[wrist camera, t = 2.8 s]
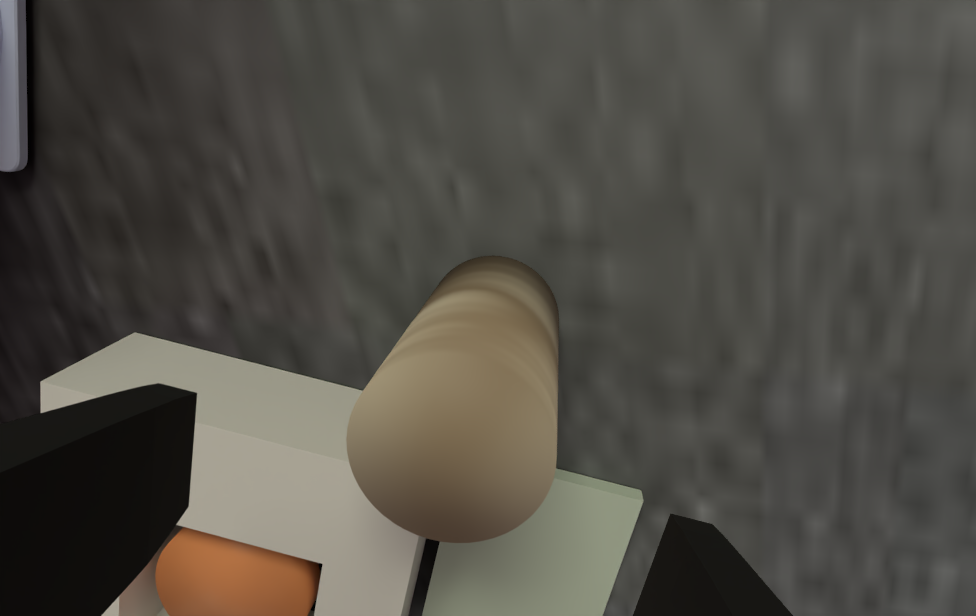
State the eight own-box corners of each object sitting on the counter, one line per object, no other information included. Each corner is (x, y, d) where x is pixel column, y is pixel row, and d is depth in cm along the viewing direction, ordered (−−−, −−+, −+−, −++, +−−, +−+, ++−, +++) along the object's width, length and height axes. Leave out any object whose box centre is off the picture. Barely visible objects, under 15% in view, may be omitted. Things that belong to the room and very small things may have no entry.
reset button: (172, 605, 22) (151, 632, 21) (181, 485, 20) (159, 508, 19) (310, 643, 22) (296, 672, 21) (330, 525, 20) (316, 550, 19)
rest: (424, 608, 23) (420, 620, 22) (463, 444, 21) (460, 453, 20) (584, 651, 23) (584, 665, 22) (641, 490, 21) (643, 501, 20)
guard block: (121, 630, 25) (42, 723, 21) (135, 332, 21) (40, 381, 17) (388, 703, 25) (356, 811, 21) (455, 414, 21) (430, 483, 17)
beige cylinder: (419, 361, 20) (332, 513, 13) (443, 241, 19) (364, 330, 11) (540, 392, 20) (528, 565, 12) (573, 274, 19) (581, 384, 11)
